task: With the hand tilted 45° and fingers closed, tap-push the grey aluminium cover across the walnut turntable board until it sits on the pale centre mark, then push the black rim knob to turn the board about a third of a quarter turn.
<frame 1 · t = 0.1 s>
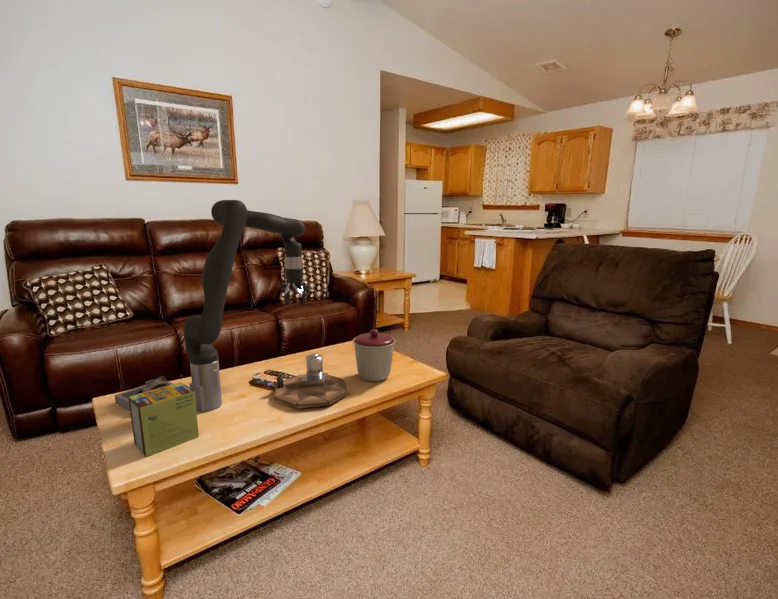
hand: (295, 304, 181), 29 cm above the table, tool pointing down, fingers open, 8 cm apart
turntable: (310, 384, 160), point 4 cm above the table, hinge at 0.0°, touching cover
caster wheel: (151, 401, 153), on the table
canister: (374, 377, 177), on the table
chock frame: (151, 400, 153), on the table
protein box: (167, 441, 127), on the table
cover: (315, 380, 167), point 2 cm above the table, touching turntable
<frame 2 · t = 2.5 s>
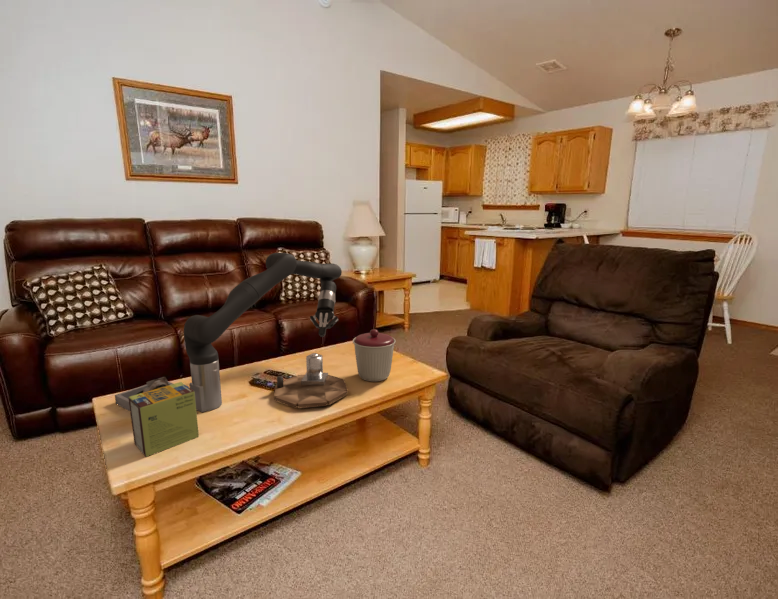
hand: (321, 336, 179), 16 cm above the table, tool tilted 45°, fingers closed
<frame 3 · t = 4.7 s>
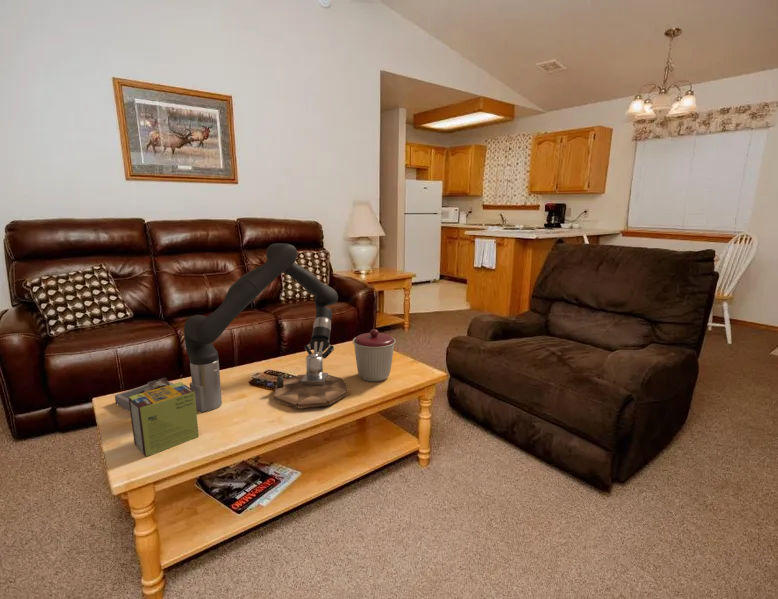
hand: (316, 367, 170), 7 cm above the table, tool tilted 45°, fingers closed
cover: (315, 380, 167), point 3 cm above the table, touching gripper, turntable
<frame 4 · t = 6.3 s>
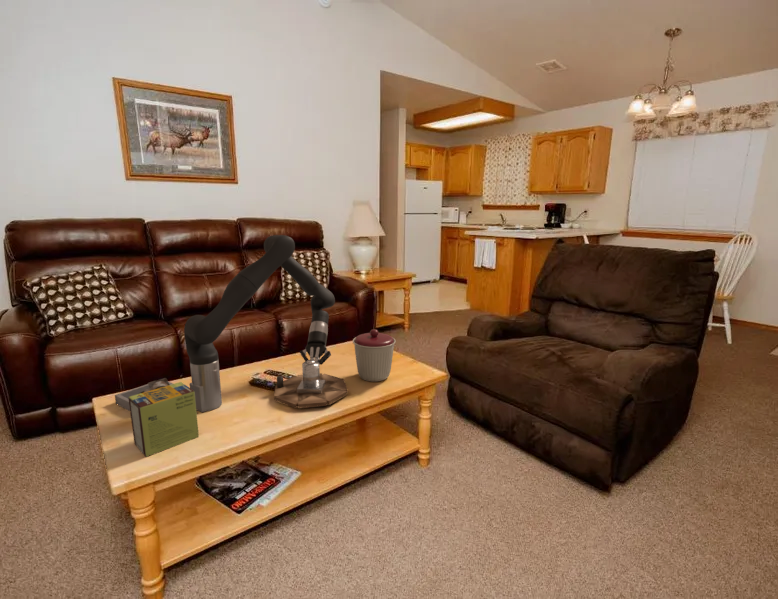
hand: (312, 373, 162), 7 cm above the table, tool tilted 45°, fingers closed
turntable: (310, 384, 160), point 4 cm above the table, hinge at 0.0°
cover: (311, 388, 160), point 3 cm above the table, touching gripper
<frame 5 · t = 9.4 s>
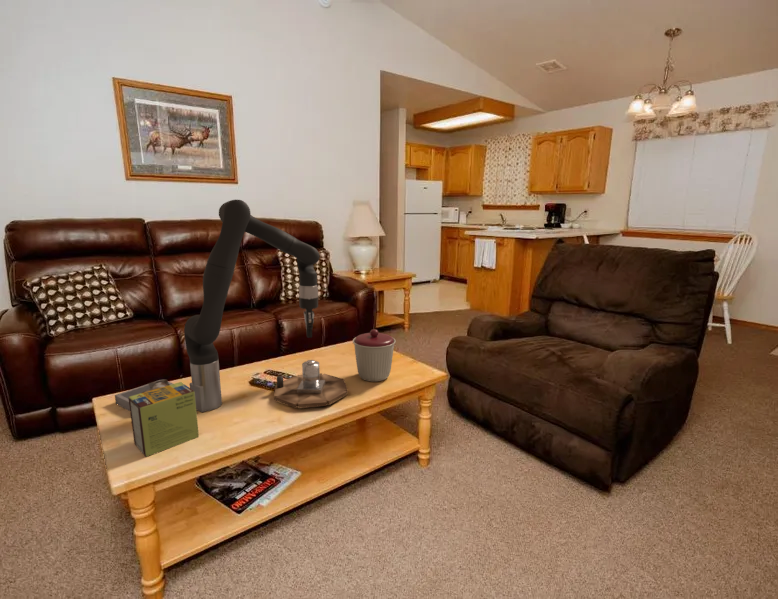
hand: (309, 337, 171), 18 cm above the table, tool pointing down, fingers closed
turntable: (310, 384, 160), point 4 cm above the table, hinge at 0.0°, touching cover
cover: (311, 388, 159), point 2 cm above the table, touching turntable
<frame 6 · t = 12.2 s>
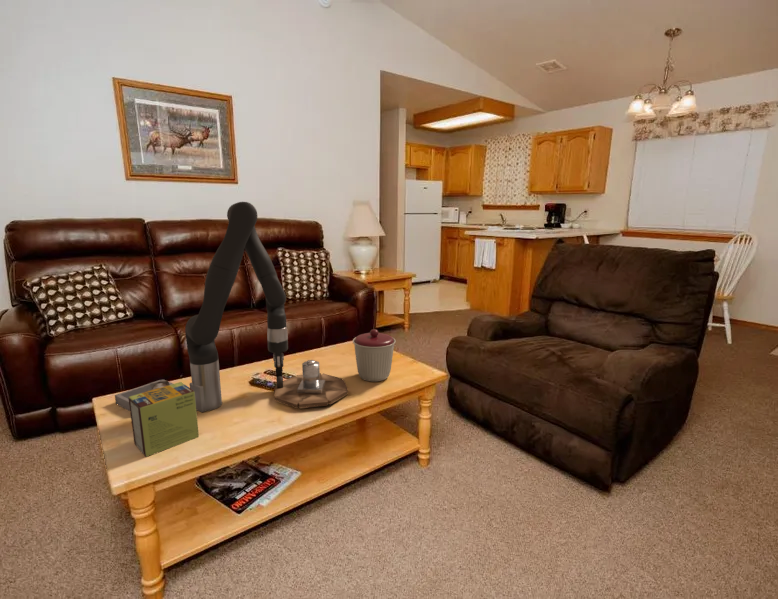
hand: (279, 380, 163), 4 cm above the table, tool pointing down, fingers closed
turntable: (310, 384, 160), point 4 cm above the table, hinge at 1.8°, touching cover, gripper
caster wheel: (151, 405, 151), on the table, touching chock frame
everything else where it was.
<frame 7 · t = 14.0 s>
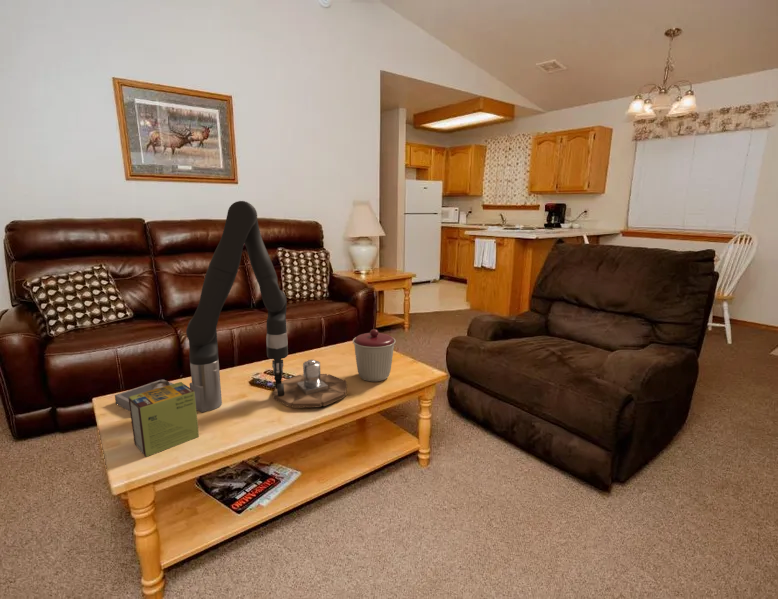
hand: (278, 387, 156), 4 cm above the table, tool pointing down, fingers closed
turntable: (310, 384, 160), point 4 cm above the table, hinge at 36.5°, touching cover, gripper
caster wheel: (151, 405, 151), on the table
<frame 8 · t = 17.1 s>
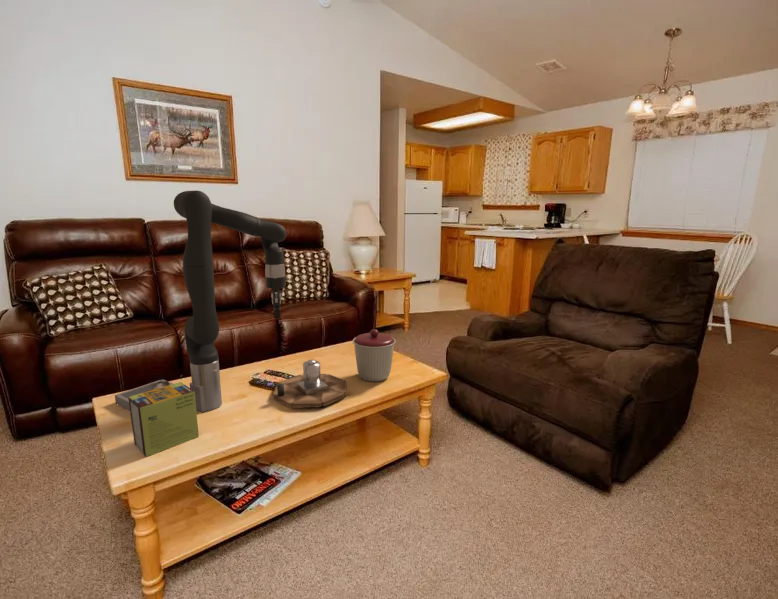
hand: (277, 317, 166), 27 cm above the table, tool pointing down, fingers closed
turntable: (310, 384, 160), point 4 cm above the table, hinge at 36.8°, touching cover
everything else where it was.
at the end: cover 0.6 cm from the turntable (horizontally); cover tilted 0°; turntable at +37° (first picture: +0°) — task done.
